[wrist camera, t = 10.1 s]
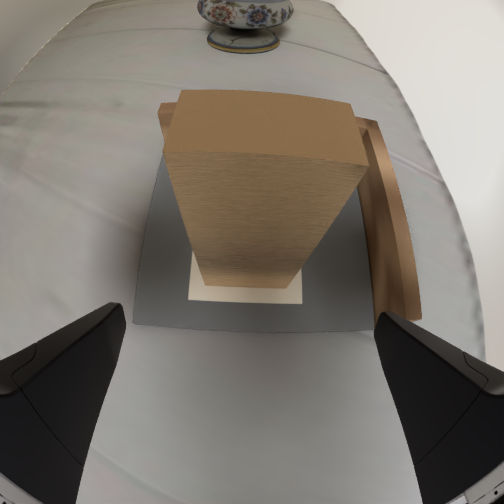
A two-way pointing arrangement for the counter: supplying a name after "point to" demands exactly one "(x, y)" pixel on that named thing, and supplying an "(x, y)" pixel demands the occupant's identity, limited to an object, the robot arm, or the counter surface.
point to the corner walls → (375, 226)
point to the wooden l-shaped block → (260, 179)
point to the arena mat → (252, 299)
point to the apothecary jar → (245, 23)
